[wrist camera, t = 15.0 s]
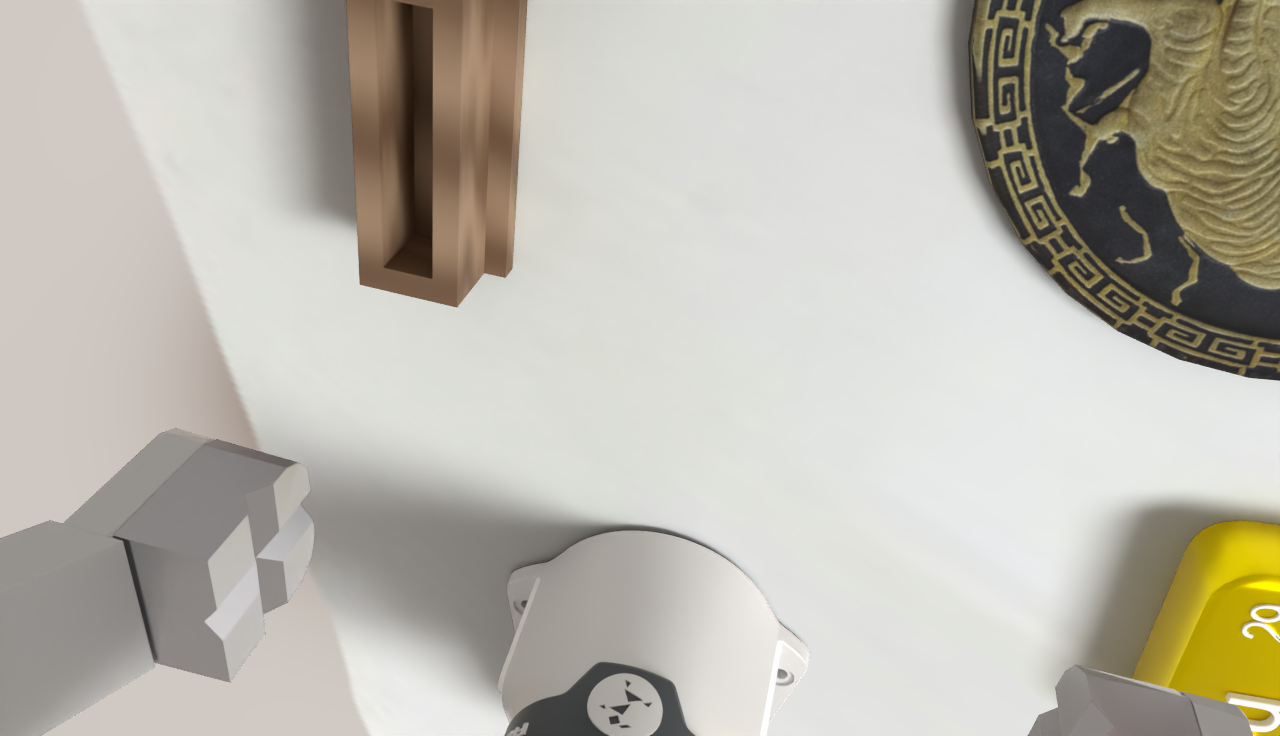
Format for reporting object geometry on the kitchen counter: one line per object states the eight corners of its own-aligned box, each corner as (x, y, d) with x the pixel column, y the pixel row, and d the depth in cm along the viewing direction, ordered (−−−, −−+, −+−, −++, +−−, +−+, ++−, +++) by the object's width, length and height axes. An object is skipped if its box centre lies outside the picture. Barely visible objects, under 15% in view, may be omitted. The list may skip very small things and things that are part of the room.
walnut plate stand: (512, 268, 48) (479, 312, 44) (380, 238, 49) (337, 279, 45) (529, -37, 40) (491, -13, 36) (370, -67, 40) (317, -47, 37)
